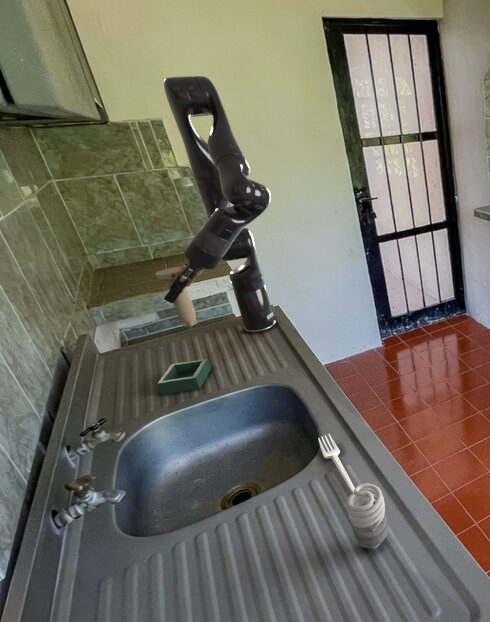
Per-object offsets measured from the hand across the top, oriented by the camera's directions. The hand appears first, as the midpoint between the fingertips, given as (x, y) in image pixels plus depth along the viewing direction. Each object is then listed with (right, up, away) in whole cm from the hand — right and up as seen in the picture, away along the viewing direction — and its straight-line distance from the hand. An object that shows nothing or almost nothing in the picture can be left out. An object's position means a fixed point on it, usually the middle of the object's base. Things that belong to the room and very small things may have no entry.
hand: (171, 297), depth 115 cm
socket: (-1, -23, +8) cm, 24 cm away
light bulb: (+62, -42, -40) cm, 85 cm away
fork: (+51, -35, -24) cm, 66 cm away
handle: (+2, -7, +4) cm, 8 cm away
